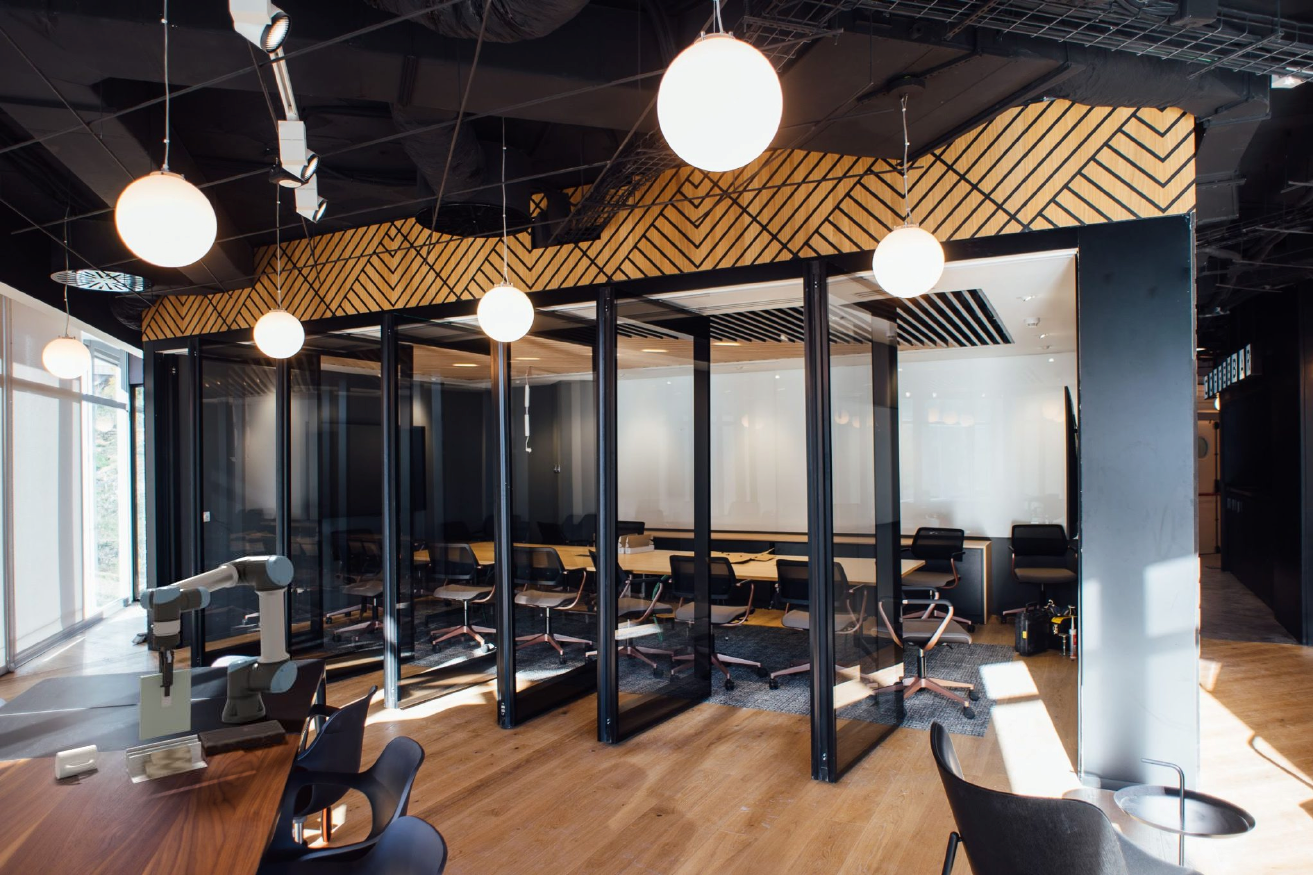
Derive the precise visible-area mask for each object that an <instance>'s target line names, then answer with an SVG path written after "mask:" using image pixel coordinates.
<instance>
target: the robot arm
mask: <svg viewBox="0 0 1313 875" xmlns="http://www.w3.org/2000/svg"><path fill="white" fill-rule="evenodd" d="M294 572H295V571H294V566H293V564H292V562H291V560H290V559H289V558H288V557H286V556H284V555H276V554H271V555H269V554H268V555H248V556H243V557H240V558H238V559H237V558H236V559H234V560H230V561H228V562H225V563H222V564H220V565H219V566H218V567H217V568H215V569H212V570H210V571H207V572H204V573H200V574H198V575H195V576H192V577H189V578H187V579H183V580H180V581H177V582H174V583H172V584H169V585H166V586H161V587H160V586H159V587H153V588H148V589H145V590H144V591H143V592H142V593H141V594H140V598H139V603H140V604H139V605H140V606H141V608H142V609H144V610H145V611H152V612H153V619H152V620H153V622H152V623H153V624H152V625H151V627H150V628H151V629H153V630H152V632H153V636H152V647H154V648H160V651H158V652H157V654H158V674H159V673H163V685H161V686H160V688H161V687H162V699H161V707H166V706H171V698H172V685H173V671H174V661H175V651H174V650H173V646H177V645H179V644H180V642H181V641H180V639H181V634H180V633H179V632H180V631H181V613H185V612H190V611H195V610H196V611H198V610H200V609H203V608H205V607H206V608H207V606H208V605H209V603H210V601H211V592H214V591H217V590H219V589H220V590H221V589H223V588H231V587H232V588H233V587H236V586H243V585H244V586H254V592H255V593H256V594H257V595H258V596H259V597H258V598H259V600H258V602H259V624H260V625H259V626H260V629H259V630H260V655H259V656H251V657H244V658H241V659H236V660H234V661H233V660H232V661H231V662H230V663H229V664H227V665H228V666H227V673H226V676H227V677H226V679H227V682H226V683H227V686H226V687H227V694H226V695H227V699H226V703H225V706H224V709H223V712H222V713H221V721H222V722H223V723H225V724H238V723H239V724H240V723H247V722H250V721H251V722H252V721H255V720H259V719H262V718H263V717H264V716H265V715H266V708H265V705H264V703H263V699H262V696H261V693H273V694H277V693H284V692H287V691H288V690H289V689H290V688H291V687H292V686H293V685H294V682H295V681H296V679H297V676H298V675H297V674H298V667H297V665H296V664H295V663H294V662H293V661H291V658H290V657H291V656H290V654H289V653H287V651H286V637H285V636H286V633H285V629H286V628H285V605H284V604H285V603H284V601H285V600H284V599H285V598H284V592H285V591H286V590H288V584H290V583H291V581H292V580H293V578H294Z"/></svg>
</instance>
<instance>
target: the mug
mask: <svg viewBox="0 0 1313 875" xmlns="http://www.w3.org/2000/svg"><path fill="white" fill-rule="evenodd" d="M98 754H99V753H98V748H97V745H95V744H92V745H87V746H83V747H77V748H73V749H68V750H64V751H59V752H56V754H55V761H54V764H55V766H54V769H55V770H54V771H55V776H56V779H58V780H59V779H63V778H67V777H72V776H76V775H79V773H83V772H88V771H91V770H95V769H98V765H99V764H98V763H99V755H98Z"/></svg>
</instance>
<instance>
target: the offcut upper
mask: <svg viewBox="0 0 1313 875" xmlns="http://www.w3.org/2000/svg"><path fill="white" fill-rule="evenodd" d="M189 758H190V748H189V746H188V745H185V746H180V747H175V748H171V749H166V750H161V751H157V752H152V753H151V763H152V765H153V766H157V765H161V764H166V763H170V762H175V761H179V760H184V759H189Z"/></svg>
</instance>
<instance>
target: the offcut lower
mask: <svg viewBox="0 0 1313 875" xmlns="http://www.w3.org/2000/svg"><path fill="white" fill-rule="evenodd" d="M189 767H192V757H191V756H190V758H189V759H184V760H179V761H175V762H170V763H166V764H161V765H157V766H153V765H152V763H151V762H148V763H145V773H146V775H147V777H150V776H154V775H159V774H163V773H167V772H172V771H176V770H180V769H185V768H189Z"/></svg>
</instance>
